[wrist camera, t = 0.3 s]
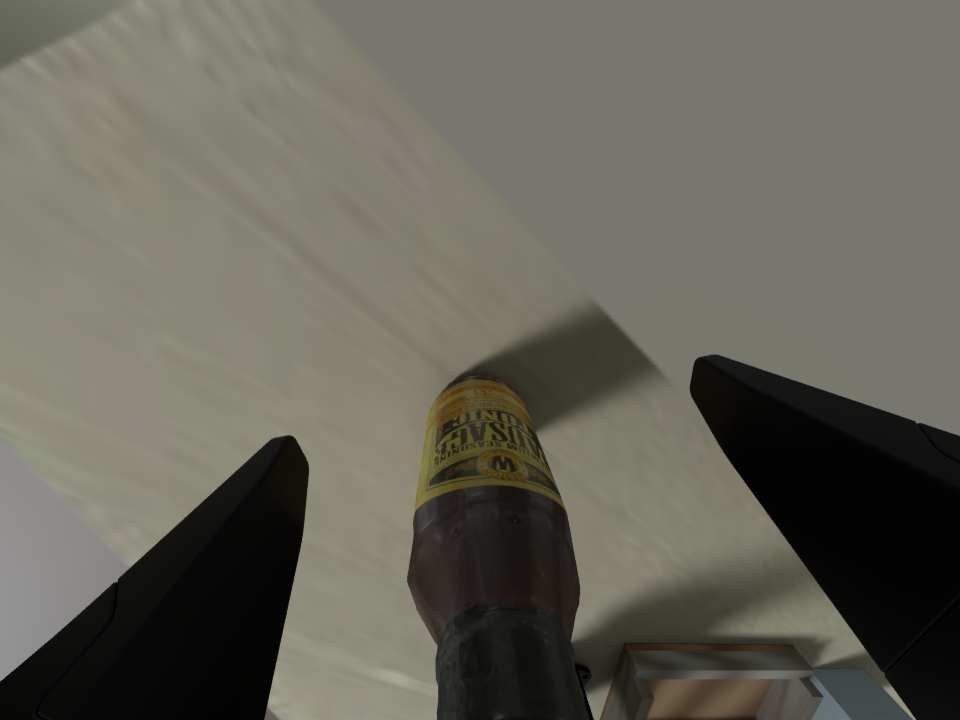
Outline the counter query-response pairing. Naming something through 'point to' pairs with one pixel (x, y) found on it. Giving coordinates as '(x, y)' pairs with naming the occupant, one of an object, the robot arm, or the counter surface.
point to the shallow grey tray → (711, 683)
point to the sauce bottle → (494, 561)
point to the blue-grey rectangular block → (853, 697)
